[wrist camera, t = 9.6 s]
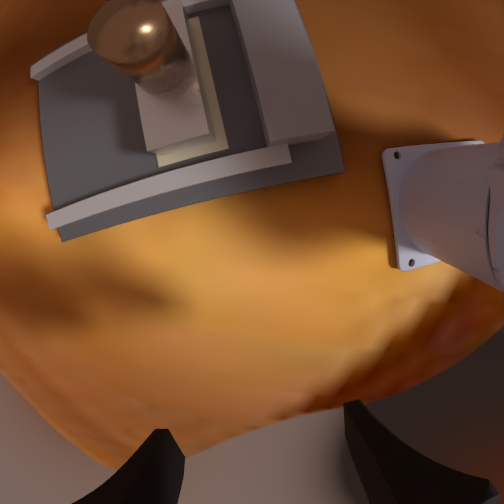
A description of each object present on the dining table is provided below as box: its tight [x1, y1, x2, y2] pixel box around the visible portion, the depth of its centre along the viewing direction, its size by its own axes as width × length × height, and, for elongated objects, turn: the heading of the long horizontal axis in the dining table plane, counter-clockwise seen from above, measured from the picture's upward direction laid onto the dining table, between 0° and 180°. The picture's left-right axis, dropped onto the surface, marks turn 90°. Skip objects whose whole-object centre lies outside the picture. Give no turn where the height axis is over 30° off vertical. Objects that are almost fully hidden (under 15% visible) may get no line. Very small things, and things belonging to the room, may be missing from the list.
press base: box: [30, 0, 345, 242], centre depth 14 cm, size 18×14×4 cm
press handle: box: [87, 0, 216, 156], centre depth 10 cm, size 3×8×8 cm, turn 13°
